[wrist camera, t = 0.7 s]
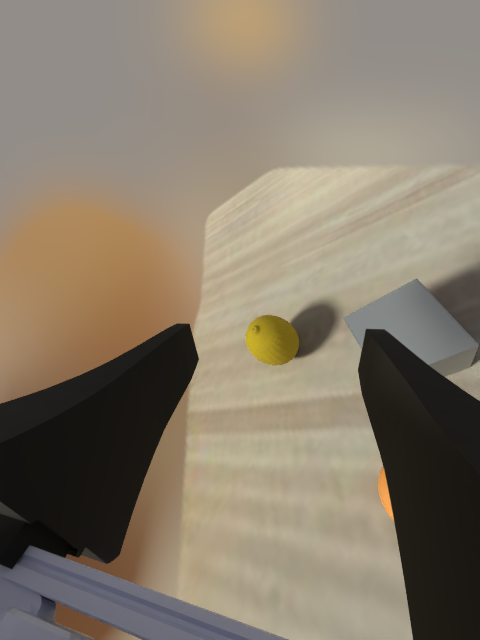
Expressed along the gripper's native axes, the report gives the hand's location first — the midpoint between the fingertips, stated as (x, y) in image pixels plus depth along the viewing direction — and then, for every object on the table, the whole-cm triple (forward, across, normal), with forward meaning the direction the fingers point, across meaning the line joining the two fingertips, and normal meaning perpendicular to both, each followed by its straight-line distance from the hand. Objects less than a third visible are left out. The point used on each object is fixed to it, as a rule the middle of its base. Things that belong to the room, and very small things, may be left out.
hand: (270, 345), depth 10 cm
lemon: (+16, 0, +13) cm, 21 cm away
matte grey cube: (+12, -11, +10) cm, 19 cm away
